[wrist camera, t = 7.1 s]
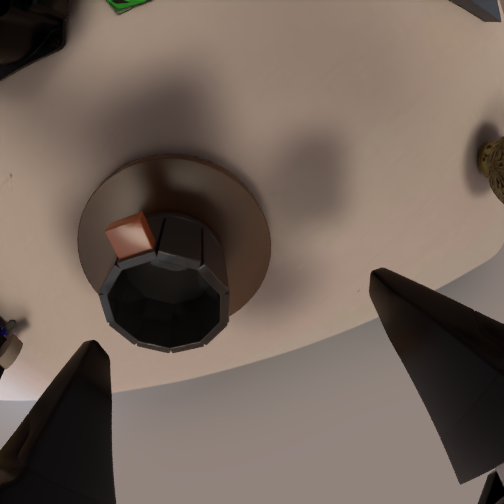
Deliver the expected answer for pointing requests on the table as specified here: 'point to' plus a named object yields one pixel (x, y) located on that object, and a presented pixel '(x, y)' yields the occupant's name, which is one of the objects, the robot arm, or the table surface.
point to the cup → (493, 165)
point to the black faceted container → (165, 282)
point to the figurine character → (8, 347)
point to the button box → (481, 9)
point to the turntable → (184, 202)
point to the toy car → (123, 4)
